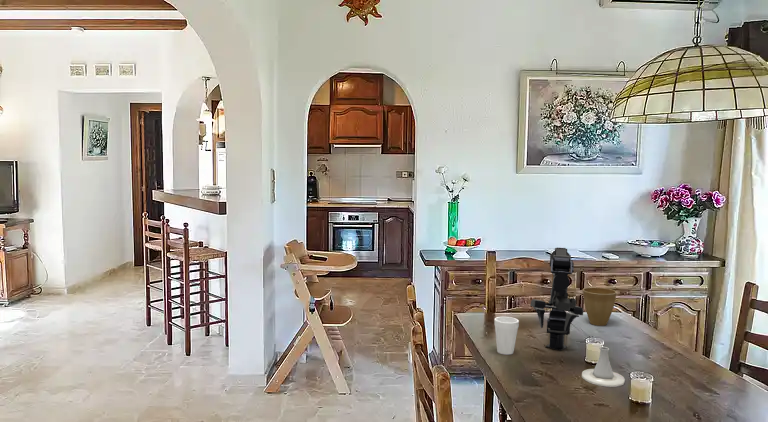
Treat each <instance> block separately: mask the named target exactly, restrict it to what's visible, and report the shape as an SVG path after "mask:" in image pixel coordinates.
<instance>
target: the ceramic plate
mask: <svg viewBox="0 0 768 422" xmlns="http://www.w3.org/2000/svg"><path fill="white" fill-rule="evenodd" d="M594 369H595V368H588V369H585V370H583V371H582V372H581V378H582V379H583V380H584V381H586V382H587V383H589V384H591V385H595V386H599V387H605V388H606V387H607V388H615V387H617V388H618V387H621V386H623V385H625V381H626V379H625V377H624V376H623V375H621V374H619V373H618V372H616V371H613V374H614V377H613V379H603V378H598V377H595V376H594V375H593V374H592V373H593V371H594Z"/></svg>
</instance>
